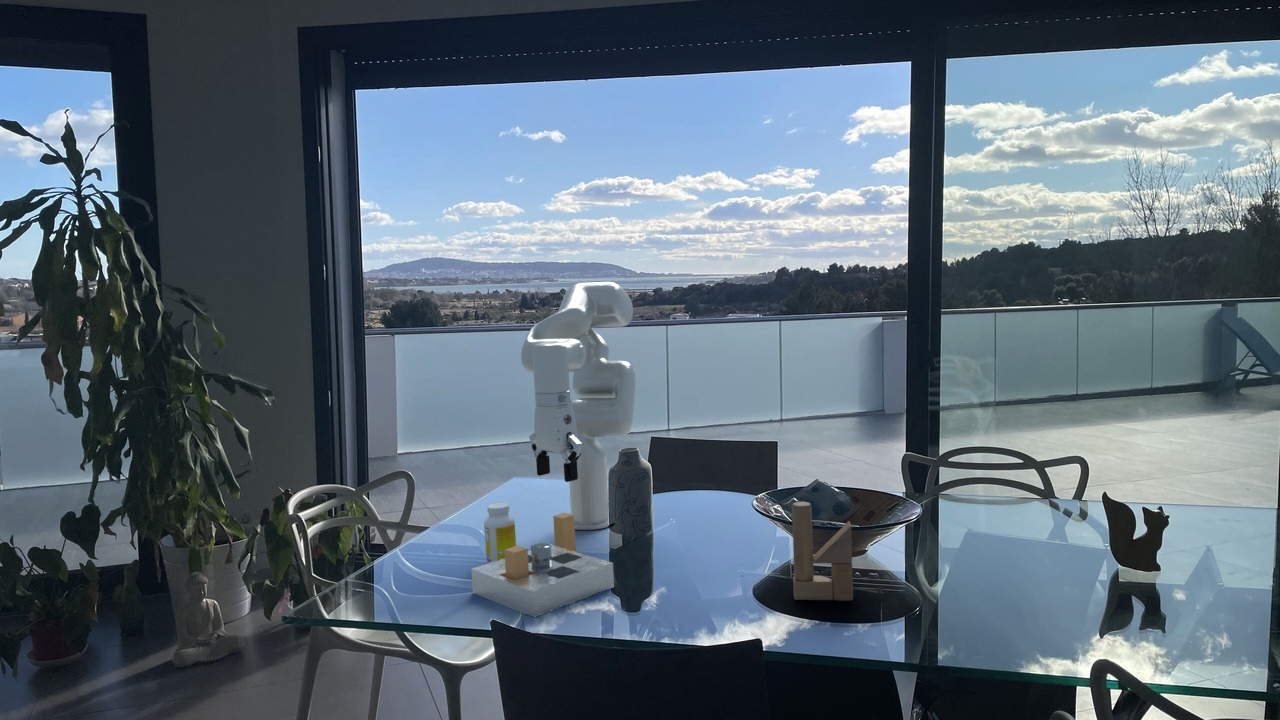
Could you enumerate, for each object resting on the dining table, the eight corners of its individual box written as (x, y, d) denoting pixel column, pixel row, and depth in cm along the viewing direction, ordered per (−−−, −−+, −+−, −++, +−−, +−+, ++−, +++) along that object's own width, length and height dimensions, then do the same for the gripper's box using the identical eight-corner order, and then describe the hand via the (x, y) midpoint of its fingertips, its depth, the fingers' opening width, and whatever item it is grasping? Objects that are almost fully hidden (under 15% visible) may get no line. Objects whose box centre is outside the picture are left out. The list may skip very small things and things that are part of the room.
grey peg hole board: (551, 566, 193) (548, 525, 192) (614, 587, 178) (611, 543, 177) (472, 593, 179) (469, 549, 178) (534, 617, 164) (531, 570, 164)
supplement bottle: (523, 559, 199) (519, 502, 197) (506, 568, 193) (502, 510, 191) (497, 556, 201) (494, 500, 200) (480, 565, 195) (476, 508, 194)
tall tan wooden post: (520, 594, 177) (517, 545, 176) (530, 598, 174) (527, 548, 173) (507, 599, 174) (504, 549, 173) (517, 603, 172) (514, 552, 171)
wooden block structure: (853, 601, 165) (850, 506, 163) (794, 600, 167) (791, 506, 165) (851, 594, 169) (849, 500, 167) (793, 593, 170) (790, 501, 169)
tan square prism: (567, 556, 199) (564, 512, 198) (576, 559, 197) (573, 515, 196) (555, 560, 197) (553, 515, 196) (565, 563, 195) (562, 518, 194)
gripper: (591, 400, 189) (596, 479, 191) (542, 394, 202) (546, 469, 204) (563, 405, 184) (568, 486, 186) (515, 399, 197) (519, 475, 199)
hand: (557, 477), depth 195 cm, fingers open, 9 cm apart
